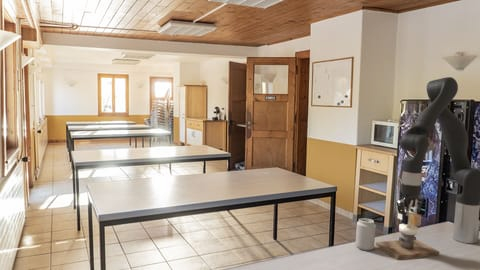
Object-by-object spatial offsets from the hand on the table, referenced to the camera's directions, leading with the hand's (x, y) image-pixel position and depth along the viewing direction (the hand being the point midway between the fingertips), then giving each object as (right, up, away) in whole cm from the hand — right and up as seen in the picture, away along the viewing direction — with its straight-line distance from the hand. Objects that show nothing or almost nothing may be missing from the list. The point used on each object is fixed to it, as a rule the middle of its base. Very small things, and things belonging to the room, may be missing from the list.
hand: (408, 223), depth 157 cm
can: (-17, -11, +3) cm, 21 cm away
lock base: (0, -12, +1) cm, 12 cm away
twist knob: (0, -4, 0) cm, 4 cm away
